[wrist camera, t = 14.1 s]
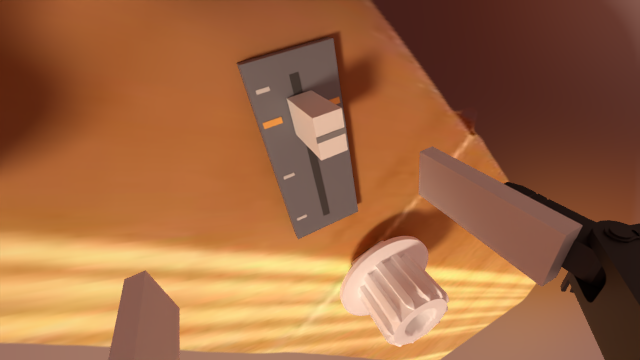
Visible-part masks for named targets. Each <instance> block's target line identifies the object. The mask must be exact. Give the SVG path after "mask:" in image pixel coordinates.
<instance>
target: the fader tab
mask: <svg viewBox="0 0 640 360" xmlns="http://www.w3.org/2000/svg"><path fill="white" fill-rule="evenodd" d="M287 102H288V106H289V109H290V113H291V117H292V121H293V125H294V128H295V132H296V135H297V136H298V137H299V138H300V139H301V140H302V141H303V142H304V143H305V144H306V145H307V146H308V147H309V148H310V149H311V150H312V151H313V152H314V153H315V155H316V156H317V157H318V158H319V159H320V160H321V161H322V160H324V159H327V158H329V157H332V156H334V155H337V154H339V153H342V152H344V151H347V150H348V147H347V141H346V134H345V133H346V128H345V127H344V120H343V113H342V108H341V107H339V106H337V105H336V104H334V103H332V102H331V101H329V100H327V99H325V98H324V97H322V96H320V95H318V94H317V93H315V92H313V91H312V90H310V91H307V92H304V93H301V94H298V95H295V96H292V97H289V98H287Z"/></svg>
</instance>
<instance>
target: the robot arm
mask: <svg viewBox="0 0 640 360" xmlns="http://www.w3.org/2000/svg"><path fill="white" fill-rule="evenodd" d="M419 195H421V196H422V197H423V198H425V199H426V200H427V201H428V202H430V203H431V204H432V205H434V206H435V207H436V208H438V209H439V210H440V211H442V212H443V213H444V214H446V215H447V216H448V217H450V218H451V219H452V220H454V221H455V222H456V223H458V224H459V225H460V226H462V227H463V228H464V229H466V230H467V231H468V232H470V233H471V234H472V235H474V236H475V237H476V238H478V239H479V240H480V241H482V242H483V243H484V244H486V245H487V246H488V247H490V248H491V249H492V250H494V251H495V252H496V253H498V254H499V255H500V256H502V257H503V258H504V259H506V260H507V261H508V262H510V263H511V264H512V265H514V266H515V267H516V268H518V269H519V270H520V271H522V272H523V273H524V274H526V275H527V276H528V277H530V278H531V279H532V280H534V281H535V282H536V283H538V284H539V285H540V286H543V285H545V284H546V283H548V282H549V281H551V280H553V279H554V278H556V276H557V275H558V273H559V271H560V269H561V267H563V268H564V269H566V270H567V271H568V273H567V275H566V277H565V279H564V280H563V282H562V284H561V291H566V289H567V287H568V285H569V284H570V285H571V290H570V292H572V293H575V295H576V298H577V300H578V302H579V304H580V306H581V309H582V311H583V313H584V315H585V317H586V319H587V322H588V324H589V326H590V328H591V331H592V333H593V335H594V337H595V339H596V341H597V344H598V346H599V348H600V350H601V352H602V355H603V357H604V359H605V360H640V224H635V225H627V224H624V223H621V222H617V221H610V220H607V221H599V222H594V221H592V220H590V219H588V218H586V217H584V216H581V215H580V214H578V213H576V212H574V211H571V210H570V209H567V208H566V207H564V206H562V205H560V204H558V203H556V202H554V201H552V200H547V198H546V197H544V196H542V195H540V194H536V193H535V192H534V191H532V190H530V189H528V188H526V187H524V186H521V185H517V184H514V183H510V182H506V183H504V184H503V183H501V182H499V181H497V180H495V179H493V178H491V177H490V176H488V175H486V174H484V173H482V172H480V171H478V170H476V169H474V168H472V167H470V166H469V165H467V164H465V163H463V162H461V161H459V160H457V159H455V158H453V157H451V156H449V155H448V154H446V153H444V152H442V151H440V150H438V149H436V148H434V147H430V148H428V149H425V150H423V151H421V152H420V169H419ZM108 360H179V307H178V306H177V305H176V304H175V303H174V302H173V301H172V299H171V298H170V297H169V296H168V295H167V294H166V293H165V292H164V290H163V289H162V288H161V287H160V286H159V285H158V284H157V283H156V282H155V280H154V279H153V278H152V277H151V276H150V275H149V274H148V273H147V272H146V270H145V271H143V272H141V273H138V274H136V275H134V276H132V277H129V278H127V279H125V280H124V285H123V290H122V295H121V300H120V305H119V310H118V315H117V319H116V324H115V329H114V334H113V339H112V344H111V349H110V354H109V359H108Z"/></svg>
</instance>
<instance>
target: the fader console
mask: <svg viewBox="0 0 640 360" xmlns="http://www.w3.org/2000/svg"><path fill="white" fill-rule="evenodd" d="M237 65H238V68H239V71H240V74H241V77H242V80H243V83H244V86H245V89H246V91H247V94H248V97H249V100H250V103H251V106H252V109H253V112H254V115H255V118H256V121H257V124H258V126H259V129H260V132H261V135H262V138H263V141H264V144H265V147H266V150H267V153H268V156H269V158H270V161H271V164H272V167H273V170H274V173H275V176H276V179H277V182H278V185H279V188H280V191H281V193H282V196H283V199H284V202H285V205H286V208H287V211H288V214H289V217H290V220H291V223H292V225H293V228H294V231H295V234H296V236H297V238H298V239H300V238H302V237H304V236H306V235H308V234H310V233H313V232H315V231H317V230H319V229H321V228H323V227H325V226H328V225H330V224H332V223H334V222H336V221H338V220H341V219H343V218H345V217H347V216H349V215H351V214H353V213H356V212H358V207H357V200H356V193H355V186H354V179H353V172H352V165H351V158H350V151H349V144H348V137H347V130H346V133H345V134H346V141H347V147H348V150H347V151H344V152H342V153H339V154H337V155H334V156H332V157H329V158H327V159H324V160H322V161H321V160H320V159H319V158H318V157H317V156H316V155H315V153H314V152H313V151H312V150H311V149H310V148H309V147H308V146H307V145H306V144H305V143H304V142H303V141H302V140H301V139H300V138H299V137H298V136H297V135H296V132H295V128H294V125H293V121H292V117H291V113H290V109H289V106H288V102H287V98H289V97H292V96H295V95H298V94H301V93H304V92H307V91H310V90H312V91H313V92H315V93H317V94H318V95H320V96H322V97H324V98H325V99H327V100H329V101H331V102H332V103H334V104H336V105H337V106H339V107H341V108H342V113H343V120H344V127H345V128H346V123H345V116H344V109H343V102H342V96H341V89H340V82H339V75H338V68H337V61H336V54H335V47H334V40H333V38H329V37H326V38H323V39H319V40H316V41H312V42H309V43H305V44H302V45H298V46H295V47H291V48H288V49H284V50H281V51H277V52H274V53H270V54H267V55H263V56H260V57H256V58H253V59H249V60H246V61H242V62H239V63H237Z"/></svg>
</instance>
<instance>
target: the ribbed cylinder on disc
mask: <svg viewBox="0 0 640 360" xmlns="http://www.w3.org/2000/svg"><path fill="white" fill-rule="evenodd" d="M427 262H428V251H427V248H426V246H425V245H424V244H423V243H422V242H421V241H420V240H419V239H417V238H415V237H412V236H399V237H395V238H391V239H388V240H386V241H383V240H382V241H380V242H378V243H377V244H375V245H374V246H373V247H371V248H370V249H369V250H367V251H366V252H364V253H363V254H362V255H360V256H359V257H358V258H356V259H355V260H353V262H352V265H353V266H352V267H351V269H350V270H349V271H348V273H347V275H346V276H345V278H344V280H343V283H342V286H341V289H340V299H341V302H342V304H343V306H344V308H345V309H346V310H347V311H348V312H349V313H351V314H353V315H359V316H363V315H370V316H371V317H372V319H373V320H374V322H375V323H376V325H377V327H378V328H379V330H380V331H381V333H382V334H383V336H384V338H385V339H386V340H387V342H388V343H390V344H394V345H396V346H399V347H401V346H402V345H405V344H409V343H414V341H416V340H417V339H419V338H421V337H422V336H424V335H425V334H427V333H428V332H429V331H430V330H431V329H432V328H433V327H434V326H435V325H436V324H437V323H440V320H441V318H442V317H443V315H444V313H445V312H446V311H447V310H448V307H447V303H448V302H449V298H448V295H447V293H446V292H445V291H444V290H443V289H442V288H441V287H440V286H439V285H438V284H437V283H436V282H435V281H434V280H433V279H432V278H431V277H430V275H429V274H428V273H427V272H426V271H425V268H426V265H427Z"/></svg>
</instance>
